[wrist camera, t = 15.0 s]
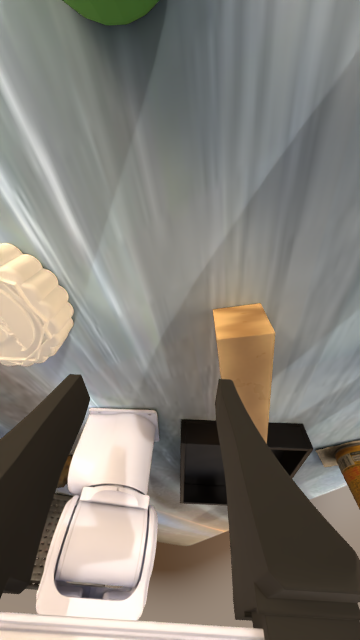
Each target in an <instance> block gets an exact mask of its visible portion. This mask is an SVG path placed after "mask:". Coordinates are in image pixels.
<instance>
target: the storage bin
mask: <svg viewBox="0 0 360 640" xmlns="http://www.w3.org/2000/svg"><path fill="white" fill-rule="evenodd" d="M72 498H73V497H70V496H63V495H58V494H54V497H53V500H52V503H51V507H50V510H49V513H48V516H47V520H46V523H45V527H44V530H43V534H42V538H41V541H40V545H39V549H38V553H37V556H36V557H37V558H38V559H36V560H35V564H34V568H33V572H32V576H31V581H30V584H29V585H28V586H27V587H26V589H35V590H38V588H39V585H38V584H40V582H41V579H42V576H43V573H44V567H45V562H46V558H47V554H48V551H49V548H50V545H51V541H52V538H53V535H54V533H55V530H56V527H57V524H58V522H59V519H60V517H61V514H62V512H63V510H64V507H65V505H66V504H67V502H68V501H69V500H70V499H72ZM47 530H49V531H47ZM44 536H46V537H44ZM43 558H44V559H43ZM42 559H43V560H42ZM40 565H41V566H40ZM66 582H68V583H70V584H73V585H84V586H95V587H105V585H103V584H92V583H81V582H70V581H66ZM32 583H35V584H32Z"/></svg>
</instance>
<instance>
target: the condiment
mask: <svg viewBox="0 0 360 640" xmlns="http://www.w3.org/2000/svg"><path fill="white" fill-rule="evenodd" d="M316 452H317V454H318V456H319V458H320V460H321V462H322V463H323V465H324V467H330V466H334V465H338V466H339V468H340V470H341V473H342V474H343V476H344V479H345V481H346V483H347V485H348V486H349V488H350V491H351V493H352V494H353V496H354V499H355V501H356V503H357V505H358V507H359V509H360V440H359V441H352V442H348V443H345V444H341V445H339V446H331V447H326V448H324V449H319V450H316Z"/></svg>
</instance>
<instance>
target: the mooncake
mask: <svg viewBox="0 0 360 640" xmlns="http://www.w3.org/2000/svg"><path fill="white" fill-rule="evenodd" d="M68 298H69V296H68V293H67V291H66V290H65V289H64V288H63V287H61V286H59V285H58V279H57V277H56V276H55V275H54V274H53V273H52V272H51V271H49V270H47V269H43V267H42V265H41V263H40V262H39V260H38V259H36V258H35V257H33V256H31V255H27V254H22V252H21V251H20V250H19V249H18V248H17V247H15V246H14V245H11V244H8V243H3V244H0V363H1V364H3V365H6V366H15V365H20V366H25V367H26V366H31V365H33V364H34V363H43V362H45V361H46V360H47V359H48V357H50V356H53V355H54V354H56V352H57V351H58V349H59V348H60V346H61V345H62V344H63V342H64V341H65V339H66V338H67V336H68V332H69V331H70V330H71V328H72V327H73V320H72V318H71V316H72V315H73V312H74V310H73V307H72V305H71V304H70V303H69V302H67V301H68Z"/></svg>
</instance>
